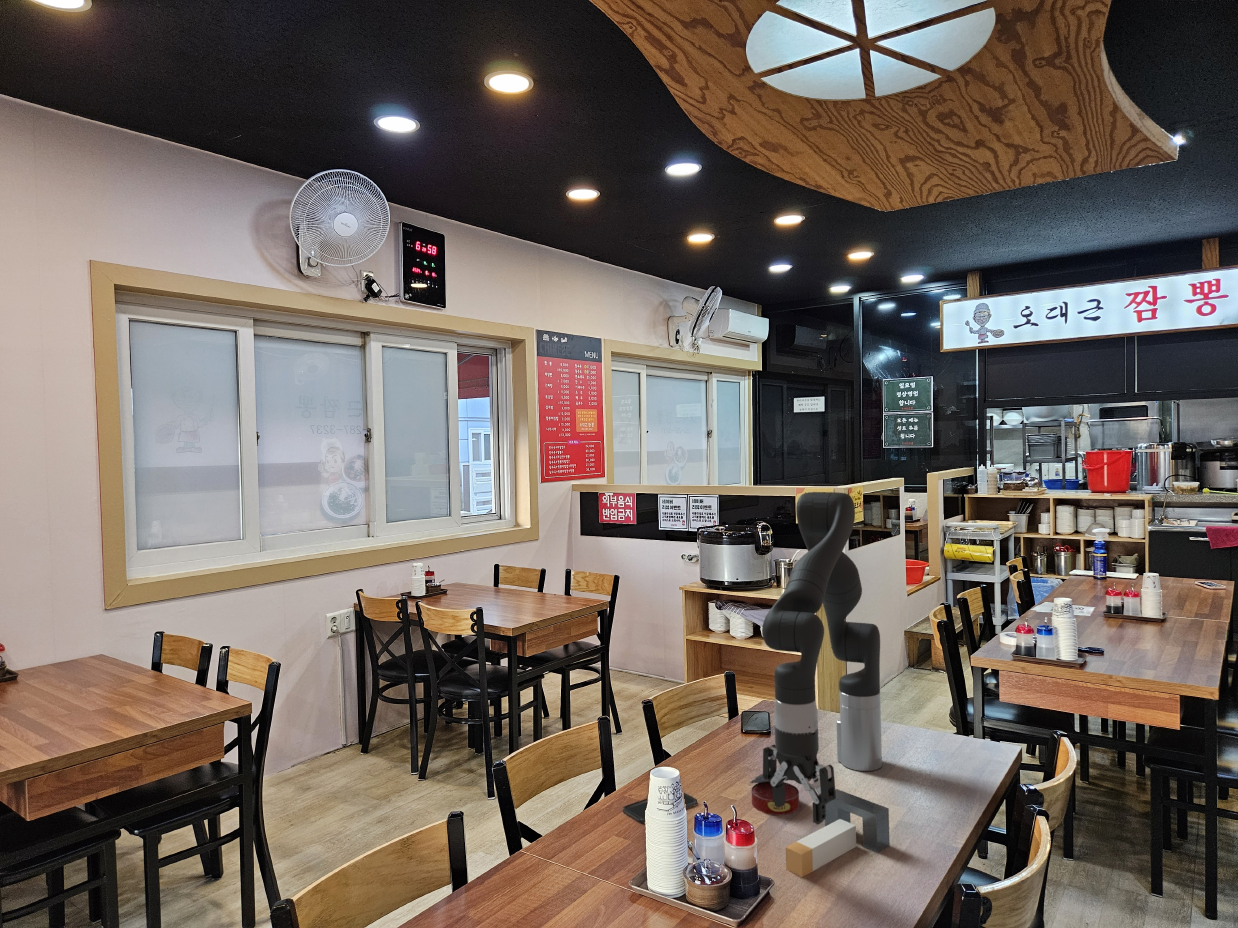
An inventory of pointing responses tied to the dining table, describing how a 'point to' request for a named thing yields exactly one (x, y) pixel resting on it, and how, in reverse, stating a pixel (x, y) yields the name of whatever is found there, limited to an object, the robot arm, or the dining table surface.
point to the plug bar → (820, 847)
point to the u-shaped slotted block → (871, 814)
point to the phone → (638, 808)
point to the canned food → (764, 797)
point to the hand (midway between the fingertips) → (798, 813)
